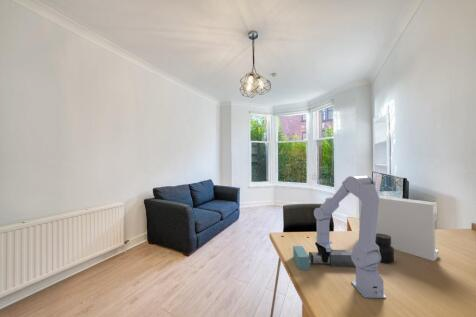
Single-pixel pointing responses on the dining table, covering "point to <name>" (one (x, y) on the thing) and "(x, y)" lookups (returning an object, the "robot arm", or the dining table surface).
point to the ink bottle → (385, 248)
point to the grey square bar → (316, 257)
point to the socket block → (301, 258)
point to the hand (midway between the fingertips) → (323, 260)
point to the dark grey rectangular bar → (341, 258)
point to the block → (408, 225)
